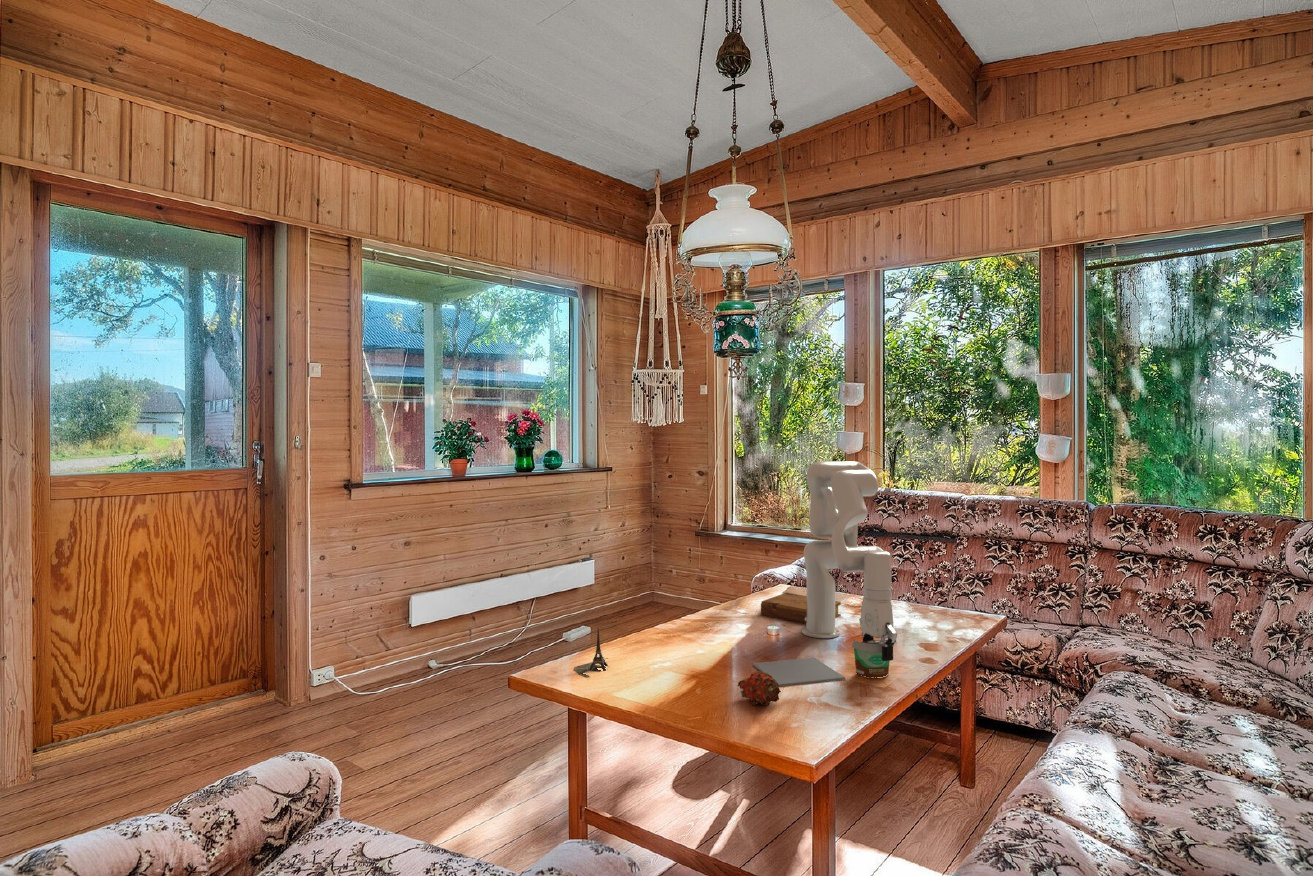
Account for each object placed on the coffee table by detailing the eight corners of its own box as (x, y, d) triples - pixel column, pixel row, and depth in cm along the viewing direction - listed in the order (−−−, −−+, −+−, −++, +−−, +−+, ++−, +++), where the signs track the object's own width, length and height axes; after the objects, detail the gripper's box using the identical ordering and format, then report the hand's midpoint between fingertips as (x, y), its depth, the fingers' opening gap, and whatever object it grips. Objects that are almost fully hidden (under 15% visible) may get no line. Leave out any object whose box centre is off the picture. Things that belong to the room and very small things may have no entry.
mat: (753, 665, 217) (753, 663, 217) (814, 659, 222) (814, 657, 222) (779, 686, 200) (779, 684, 200) (845, 679, 205) (845, 677, 205)
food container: (863, 682, 203) (863, 646, 203) (851, 674, 209) (851, 639, 209) (902, 678, 206) (902, 642, 206) (889, 670, 212) (889, 636, 212)
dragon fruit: (781, 716, 183) (740, 711, 191) (791, 688, 189) (751, 684, 197) (767, 694, 180) (726, 690, 187) (778, 666, 186) (738, 663, 193)
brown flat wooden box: (760, 617, 273) (760, 601, 273) (786, 607, 287) (786, 592, 287) (816, 627, 258) (816, 611, 258) (840, 616, 273) (840, 601, 272)
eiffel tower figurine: (607, 659, 224) (607, 616, 223) (628, 668, 216) (628, 623, 216) (566, 670, 214) (566, 625, 213) (587, 680, 206) (587, 632, 206)
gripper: (849, 589, 214) (849, 648, 214) (883, 602, 198) (883, 665, 198) (872, 587, 216) (872, 645, 216) (907, 600, 200) (907, 663, 200)
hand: (877, 655), depth 207 cm, fingers open, 9 cm apart
